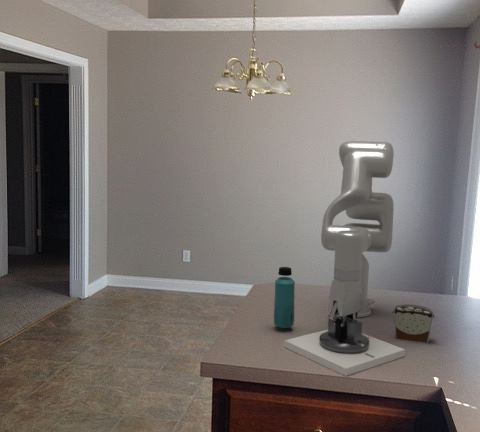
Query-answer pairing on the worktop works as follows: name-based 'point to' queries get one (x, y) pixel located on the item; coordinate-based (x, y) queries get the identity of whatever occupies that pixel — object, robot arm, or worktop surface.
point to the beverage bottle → (284, 299)
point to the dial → (352, 338)
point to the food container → (412, 323)
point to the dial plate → (343, 361)
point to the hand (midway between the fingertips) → (344, 336)
